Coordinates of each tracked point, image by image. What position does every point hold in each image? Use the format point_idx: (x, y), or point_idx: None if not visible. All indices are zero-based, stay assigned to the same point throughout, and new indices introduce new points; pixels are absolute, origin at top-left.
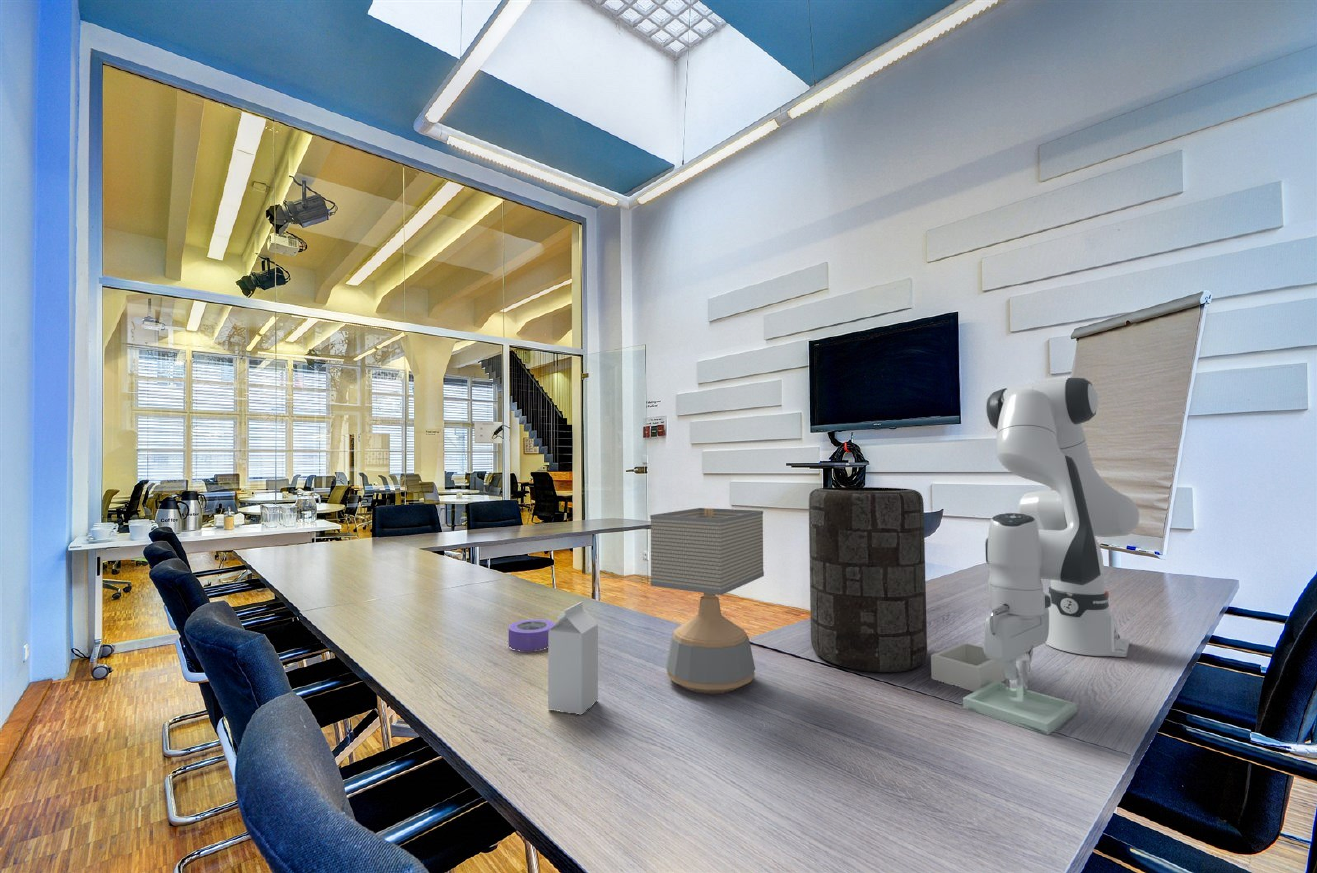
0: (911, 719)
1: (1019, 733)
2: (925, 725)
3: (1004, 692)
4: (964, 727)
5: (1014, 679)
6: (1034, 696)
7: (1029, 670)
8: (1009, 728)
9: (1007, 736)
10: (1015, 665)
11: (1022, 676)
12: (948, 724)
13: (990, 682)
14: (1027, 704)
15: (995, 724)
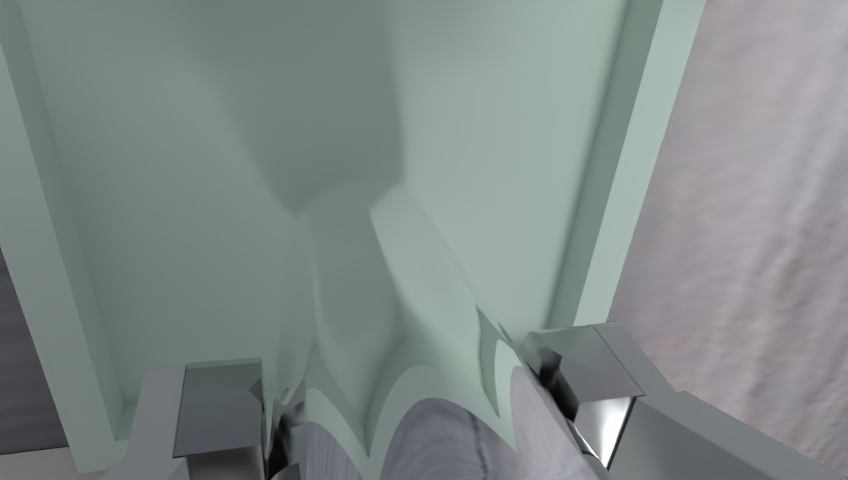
0: (808, 396)
1: (741, 40)
2: (844, 345)
3: (144, 365)
4: (796, 254)
5: (616, 328)
6: (59, 202)
7: (191, 375)
8: (695, 110)
9: (817, 73)
10: (731, 450)
11: (489, 323)
12: (794, 306)
13: (88, 478)
14: (239, 182)
15: (679, 183)
